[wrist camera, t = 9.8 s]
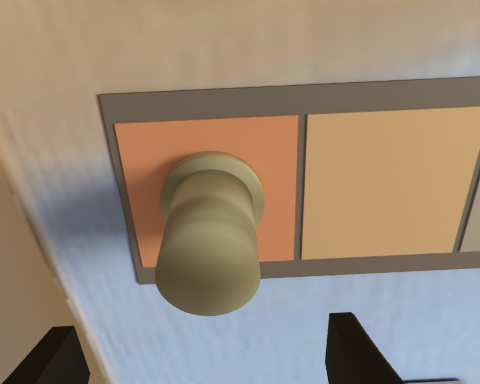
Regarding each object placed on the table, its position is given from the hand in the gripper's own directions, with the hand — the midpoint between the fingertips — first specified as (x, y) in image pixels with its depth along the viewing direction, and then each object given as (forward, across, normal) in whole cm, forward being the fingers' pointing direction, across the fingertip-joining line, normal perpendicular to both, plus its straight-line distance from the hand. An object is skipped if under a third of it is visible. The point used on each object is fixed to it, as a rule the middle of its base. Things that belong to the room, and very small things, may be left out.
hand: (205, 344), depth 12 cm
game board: (+8, -8, 0) cm, 12 cm away
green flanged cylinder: (+8, 0, 0) cm, 8 cm away
